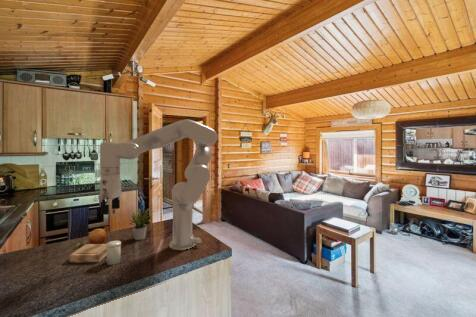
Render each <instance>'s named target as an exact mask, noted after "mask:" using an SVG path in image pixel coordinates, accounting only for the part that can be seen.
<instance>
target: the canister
mask: <svg viewBox="0 0 476 317" xmlns="http://www.w3.org/2000/svg"><path fill="white" fill-rule="evenodd" d="M105 244H106V247H107V255H106V264H107V265H108V266H113V265H117V264H119V263H121V258H122V256H121V254H122V251H121V246H122V241H120V240H110V241H108V242H107V243H105Z"/></svg>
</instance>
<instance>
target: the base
mask: <svg viewBox="0 0 476 317" xmlns="http://www.w3.org/2000/svg"><path fill="white" fill-rule="evenodd" d="M106 244H107V243H102V244H91V243H85V244H83V245H82V246H80V247H79V248H78V249H76V250H75V251H74V252H72V253H70V254H69V263H101V261H102V260H103V259H104V258H105V257H107V247H106Z"/></svg>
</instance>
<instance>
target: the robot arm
mask: <svg viewBox="0 0 476 317" xmlns="http://www.w3.org/2000/svg"><path fill="white" fill-rule="evenodd" d="M185 138H188V139H190V140H192V141H193V142H194V145H195V152H194V153H193V154H194V155H193V156H192V158H191V159H190V161H189V163H188V165H187V167H186V168H185V170H184V178H185V179H186V180H187V181H181V182H180V181H179V182H177V183H175V184H174V186H173V187H172V189H171V199H172V201H171V202H172V241H171V242H170V243H169V246H168V247H169V248H170V249H171V250H174V251H186V249H188V250H191V249H193V248H194V247H195V246H196V243H197V244H198V243H199V244H200V243H202V238H200V237H199V236H198V237H195V236H194V234H193V212H194V211H193V205H195V204H196V203H197V202H198V201H199V199H200V198H201V197H202V194H203V193H204V191H205V189H206V187H207V185H208V184H209V181H210V178H211V171H210V168H209V167H208V166H209V163H210V162H211V159H212V154H213V151H212V149H213V148H212V146H213V145H215V144H216V142H217V141H218V134H217V131H216V130H214V129H213V128H211V127H209V126H206V125H205V124H201V123H200V122H197V121H195V120H192V119H189V118H187V119H181V120H177V121H176V122H172V123H170V124H168V125H165V126H163V127H159V128H157V129H155V130H152V131H150V132H148V133H146V134H143V135H141V136H138V137H135V138H133V139H130V140H128V141H125V142H116V141H115V142H113V141H105V142H101V143H100V145H99V175H100V180H99V181H100V182H99V194H98V195H97V196H98V197H97V199H98V202H99V206H100V208H99V213H100V215H101V216H102V215H103V216H104V215H106V216H107V215H109V214H110V204H109V202H110V200H111V209H113V210H114V209H117V210H119V209H120V207H121V206H120V203H121V201H120V200H121V195H122V180H121V179H122V178H121V160H122V159H123V160H135V159H137V158H138V157H139V156H140V155H141V154H143V153H145V152H148V151H151V150H155V149H160V148H164V147H166V146H169V145H171V144H173V143H176V142H178V141H180V140H183V139H185ZM192 247H193V248H192ZM190 248H191V249H190Z"/></svg>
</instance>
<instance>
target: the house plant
mask: <svg viewBox="0 0 476 317" xmlns="http://www.w3.org/2000/svg"><path fill="white" fill-rule="evenodd" d="M150 209H151V208H147V209H146V210H145V211H144V212H143V213H142V210H141V209H140V208H138V209H137V208H136V209H135V210H136V211H137V213H138V215H139V218H138V216H137V214H136V213H135V212H134V211H132V210H130V212H131V213H132V215H131V217H132V219H130V220H128V221H129V222H130V223H129V225H133V226H132V233H133V237H134V240H135V241H142V240H144V239H145V238H146V236H147V235H146V234H147V228H148V227H147V225H146V224H149V223H150V222H152V221H151V219H148V218H149V217H150V215H149V214H151V213H154V212H155V211H153V210H152V211H149V210H150ZM148 211H149V212H148ZM131 222H132V223H131Z"/></svg>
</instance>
